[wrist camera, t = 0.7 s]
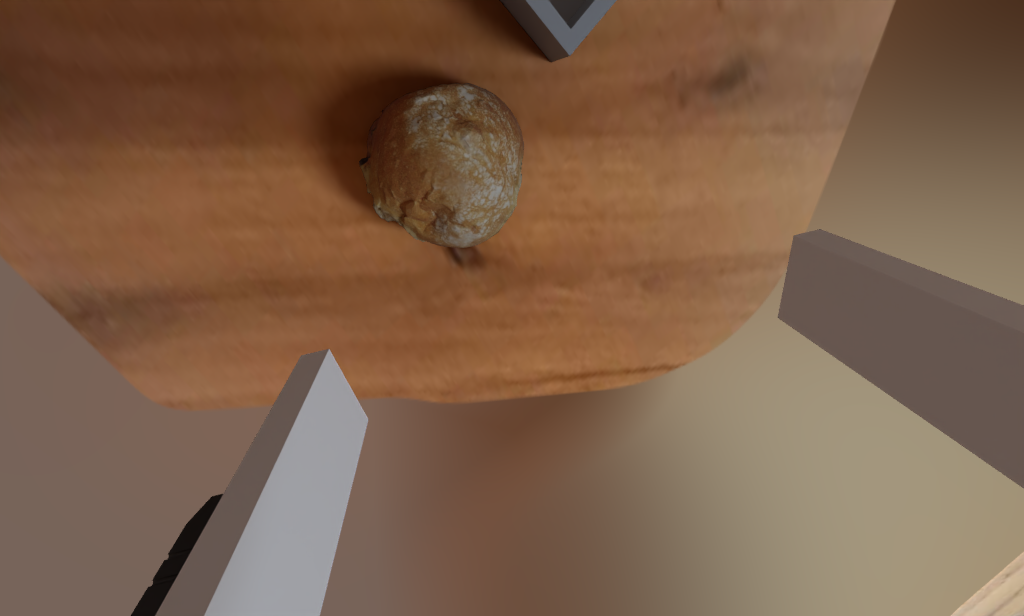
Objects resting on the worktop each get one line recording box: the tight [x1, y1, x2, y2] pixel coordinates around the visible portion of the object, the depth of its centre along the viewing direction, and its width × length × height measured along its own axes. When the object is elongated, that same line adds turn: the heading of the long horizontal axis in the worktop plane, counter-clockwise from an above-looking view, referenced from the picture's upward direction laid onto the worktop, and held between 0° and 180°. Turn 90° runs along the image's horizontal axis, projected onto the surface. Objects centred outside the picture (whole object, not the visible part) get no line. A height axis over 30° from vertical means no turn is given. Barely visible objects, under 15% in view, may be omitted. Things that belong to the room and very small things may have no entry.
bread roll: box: [359, 83, 524, 248], centre depth 24 cm, size 10×10×8 cm
